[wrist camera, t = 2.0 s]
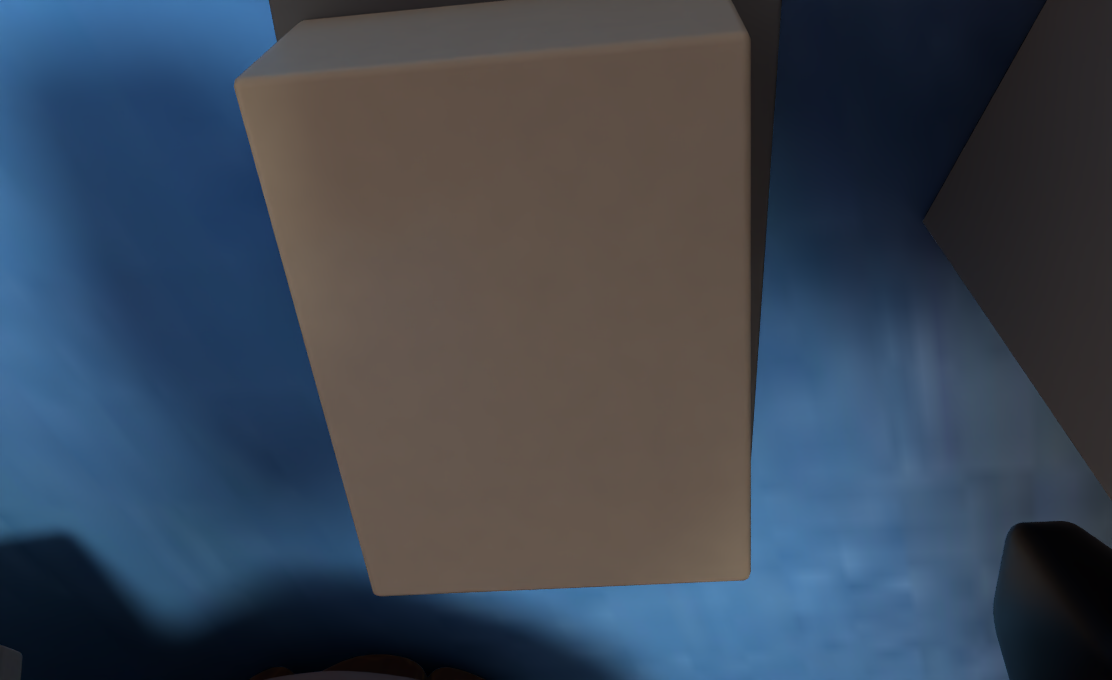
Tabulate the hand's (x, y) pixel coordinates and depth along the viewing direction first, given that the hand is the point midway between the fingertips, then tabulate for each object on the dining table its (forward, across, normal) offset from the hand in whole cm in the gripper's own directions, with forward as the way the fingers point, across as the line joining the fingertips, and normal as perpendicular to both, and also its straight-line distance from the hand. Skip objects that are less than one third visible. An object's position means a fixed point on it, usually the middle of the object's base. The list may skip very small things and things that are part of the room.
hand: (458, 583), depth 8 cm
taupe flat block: (+6, 0, 0) cm, 6 cm away
